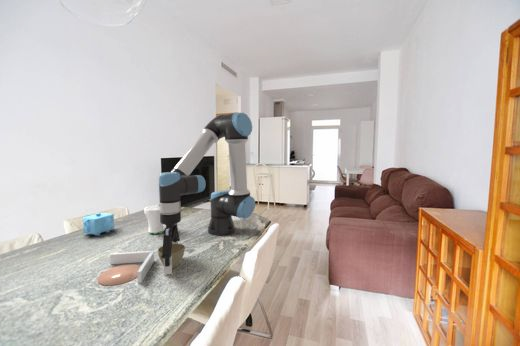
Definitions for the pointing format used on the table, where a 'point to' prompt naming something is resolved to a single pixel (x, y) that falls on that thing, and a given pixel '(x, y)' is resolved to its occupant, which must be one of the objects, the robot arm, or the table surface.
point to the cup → (154, 219)
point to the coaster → (118, 274)
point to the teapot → (98, 223)
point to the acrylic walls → (133, 258)
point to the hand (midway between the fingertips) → (171, 264)
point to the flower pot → (174, 254)
